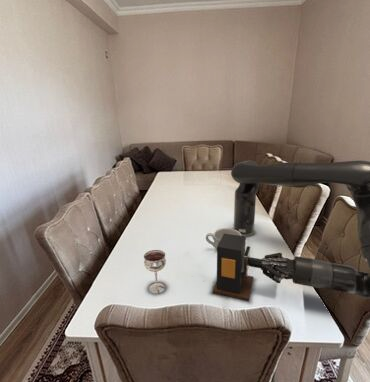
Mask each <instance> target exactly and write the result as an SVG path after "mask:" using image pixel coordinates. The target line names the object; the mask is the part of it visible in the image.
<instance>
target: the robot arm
mask: <svg viewBox="0 0 370 382" xmlns="http://www.w3.org/2000/svg"><path fill="white" fill-rule="evenodd" d="M230 175H231V178H232V180H234V181H235V182H236V183H238V184H239V185H238V187H236V189H235V190H234V204H233V229H234V230H237V231H238V232H240V233H241V235H242V236H246V237H250V236H253V235H254V234H255V220H256V219H255V217H256V202H257V201H256V200H257V193H258V192H259V185H260V184H263V185H269V186H270V185H271V186H278V187H285V188H286V187H288V188H298V189H301V188H307V187H312V186H315V185H318V184H339V185H340V184H341V185H346V188H347V190H348V191H349V193H350V195H351V197H352V200H353V202H354V205H355V209H356V216H357V234H358V241H359V248H360V253H361V256H362V259H363V260H365V261H366V262H367V265H368V269H369V270H370V161H369V160H346V161H345V160H344V161H336V162H335V161H334V162H302V161H294V162H293V161H285V162H276V163H275V162H274V163H270V164H262V165H261V164H258V163H257V162H256V161H254V160H244V161H241V162H238V163H236V164H235V165H234V166H233V167H232V169H231V171H230ZM248 266H249V267H251V268H255V269H260V270H261V271H262V274H263V275H264V276H266V277H267V278H269V279H270V280H272V281H273V282H275V283H276V284H281V282H282V280H292V283H293V284H296V285H301V286H306V287H311V288H317V289H322V290H323V289H325V290H331V291H336V292H343V293H349V294H352V295H356V296H359V297H363V298H366V299H370V272H367V271H361V270H357V269H355V267H353V266H350V265H348V264H341V263H335V262H330V261H326V260H323V259H322V260H321V259H316V258H311V257H310V258H309V257H303V256H297V255H296V256H294V257H293V259H291V258H289V257H284V256H283V253H282V252H276V253H270V254H266V255H264V257H262V258H258V257H251V256H250V258H249V260H248Z"/></svg>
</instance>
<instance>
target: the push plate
mask: <svg viewBox="0 0 370 382" xmlns="http://www.w3.org/2000/svg"><path fill="white" fill-rule="evenodd" d="M250 257H251V246H246V247H245V255H244V269H243V276H244V277H247V273H248V274H249V269H250V266H248V260H249V258H250Z"/></svg>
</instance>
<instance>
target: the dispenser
mask: <svg viewBox="0 0 370 382" xmlns="http://www.w3.org/2000/svg"><path fill="white" fill-rule="evenodd" d="M246 240H247V236H239V235H232V234H225V233H224V234H223V236H222V238H221V240H220V242H219V244H218V246H217V251H216V281H215V283H214V286H213V288H212V294H214V295H217V296H222V297H226V298H231V299H235V300H240V301H244V302H250V299H251V294H252V288H253V284H254V276H252V275H248V274H249V272H248V273H247V277H244V276H243V269H244V255H245V251H246V242H247V241H246Z"/></svg>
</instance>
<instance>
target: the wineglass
mask: <svg viewBox="0 0 370 382" xmlns="http://www.w3.org/2000/svg"><path fill="white" fill-rule="evenodd" d="M143 259H144V260H143V264H144V268H145V269H146V270H147V271H149V272H152V273H154V279H155V283H153V284H151V285H150V286H149V288H148V290H149V292H150V293H151V294H160V293H163V292H164V290H165V288H166V287H165V285H164V284H163V283H159V282H158V272H161V271H162V270H163V269H164V268H165V267H166V263H167V259H166V252H165V251H163V250H161V249H152V250H148V251H147V252H145V253H144V255H143Z"/></svg>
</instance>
